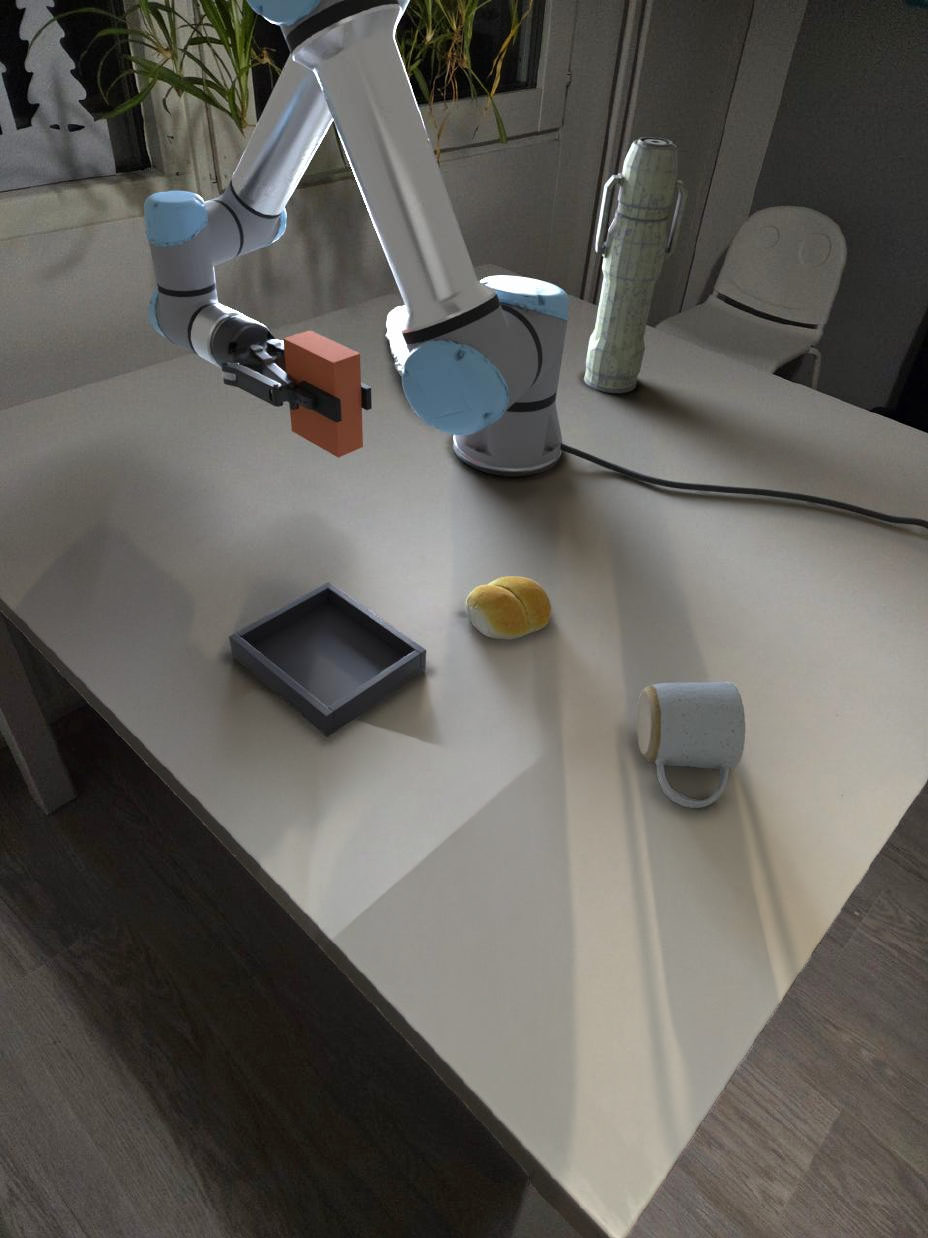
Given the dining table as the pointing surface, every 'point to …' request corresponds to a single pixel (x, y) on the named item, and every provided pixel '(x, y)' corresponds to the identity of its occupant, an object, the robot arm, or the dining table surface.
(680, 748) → the ceramic mug
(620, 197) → the thermos
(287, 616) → the tray
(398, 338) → the elongated rock
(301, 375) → the reddish orange block
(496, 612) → the bread roll
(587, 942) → the dining table surface
